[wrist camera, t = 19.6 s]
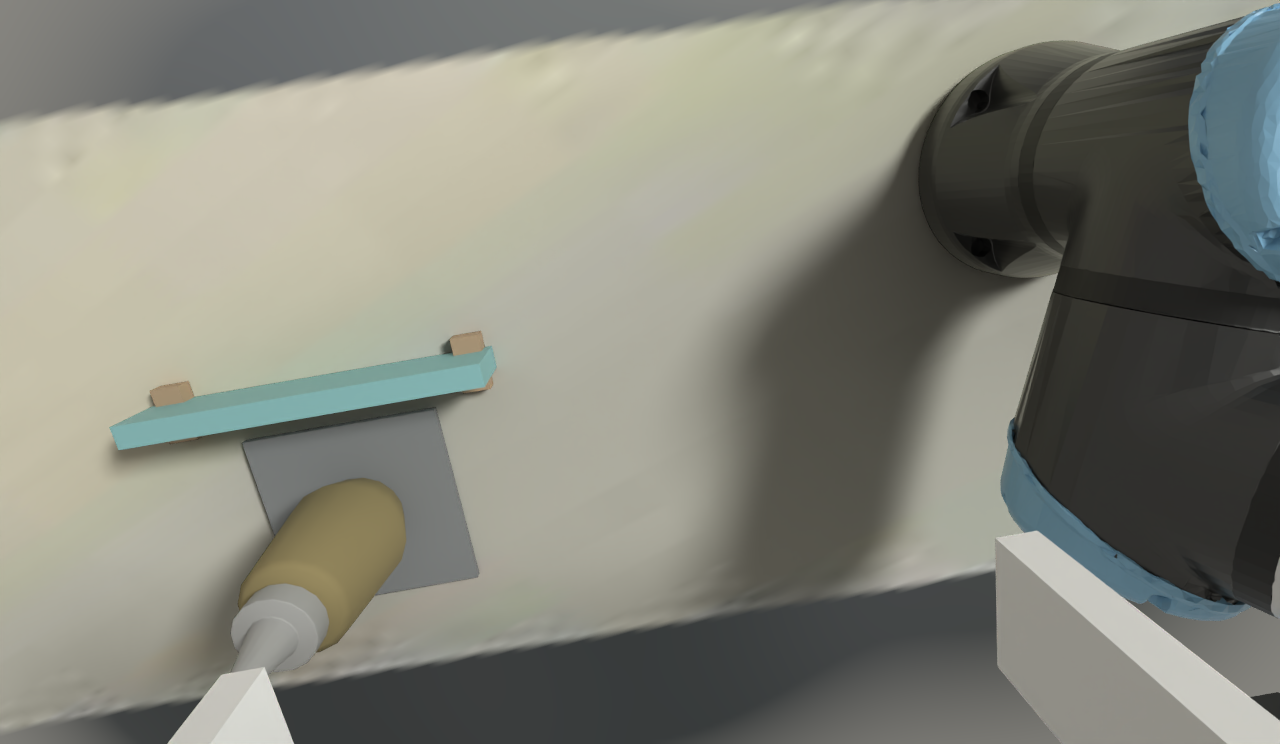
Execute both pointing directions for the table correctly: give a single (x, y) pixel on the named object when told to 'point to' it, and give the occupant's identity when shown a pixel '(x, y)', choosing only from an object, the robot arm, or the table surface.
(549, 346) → the table surface
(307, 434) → the mat
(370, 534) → the squeeze bottle
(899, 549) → the table surface
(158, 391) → the fence
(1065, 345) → the robot arm
